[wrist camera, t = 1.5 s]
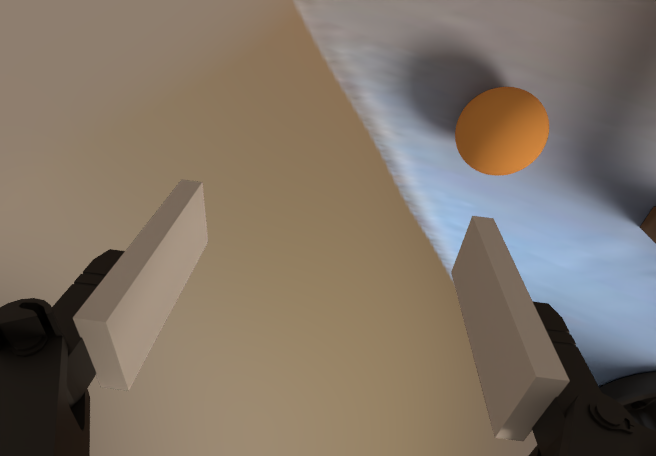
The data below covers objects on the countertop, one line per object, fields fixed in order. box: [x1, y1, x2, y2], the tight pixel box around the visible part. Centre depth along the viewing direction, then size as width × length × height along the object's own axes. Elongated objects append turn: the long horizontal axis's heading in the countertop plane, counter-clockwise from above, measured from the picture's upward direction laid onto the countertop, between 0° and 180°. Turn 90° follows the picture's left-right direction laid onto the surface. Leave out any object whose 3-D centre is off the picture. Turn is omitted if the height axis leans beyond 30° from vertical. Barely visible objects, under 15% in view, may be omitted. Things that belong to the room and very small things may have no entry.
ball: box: [455, 87, 549, 175], centre depth 26 cm, size 6×6×6 cm
